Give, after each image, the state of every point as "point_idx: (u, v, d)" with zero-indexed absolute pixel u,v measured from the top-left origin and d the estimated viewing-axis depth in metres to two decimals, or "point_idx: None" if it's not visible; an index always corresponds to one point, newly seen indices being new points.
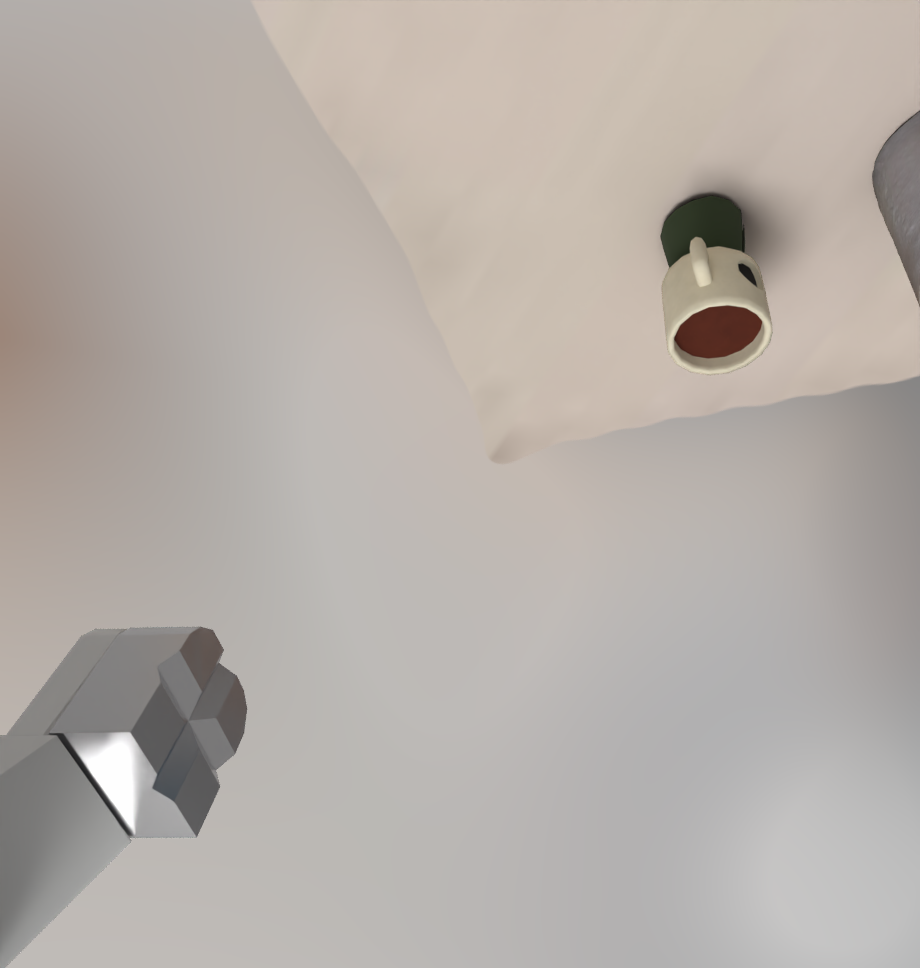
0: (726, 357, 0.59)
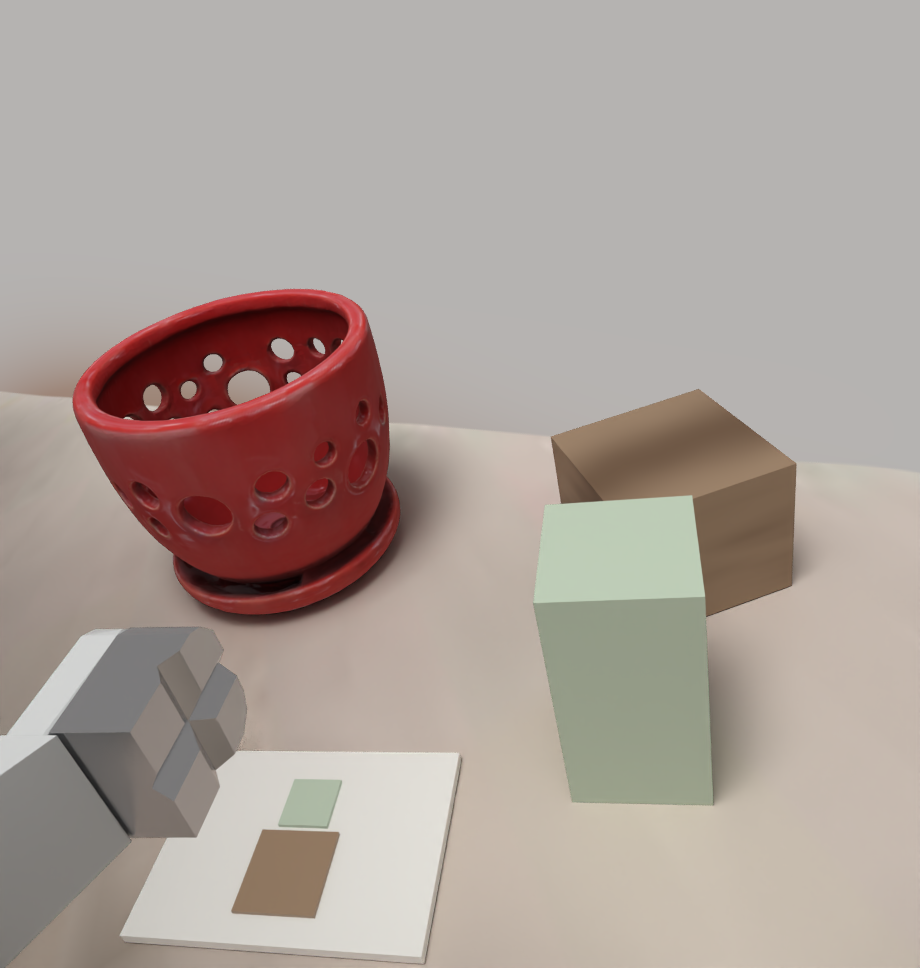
0: None
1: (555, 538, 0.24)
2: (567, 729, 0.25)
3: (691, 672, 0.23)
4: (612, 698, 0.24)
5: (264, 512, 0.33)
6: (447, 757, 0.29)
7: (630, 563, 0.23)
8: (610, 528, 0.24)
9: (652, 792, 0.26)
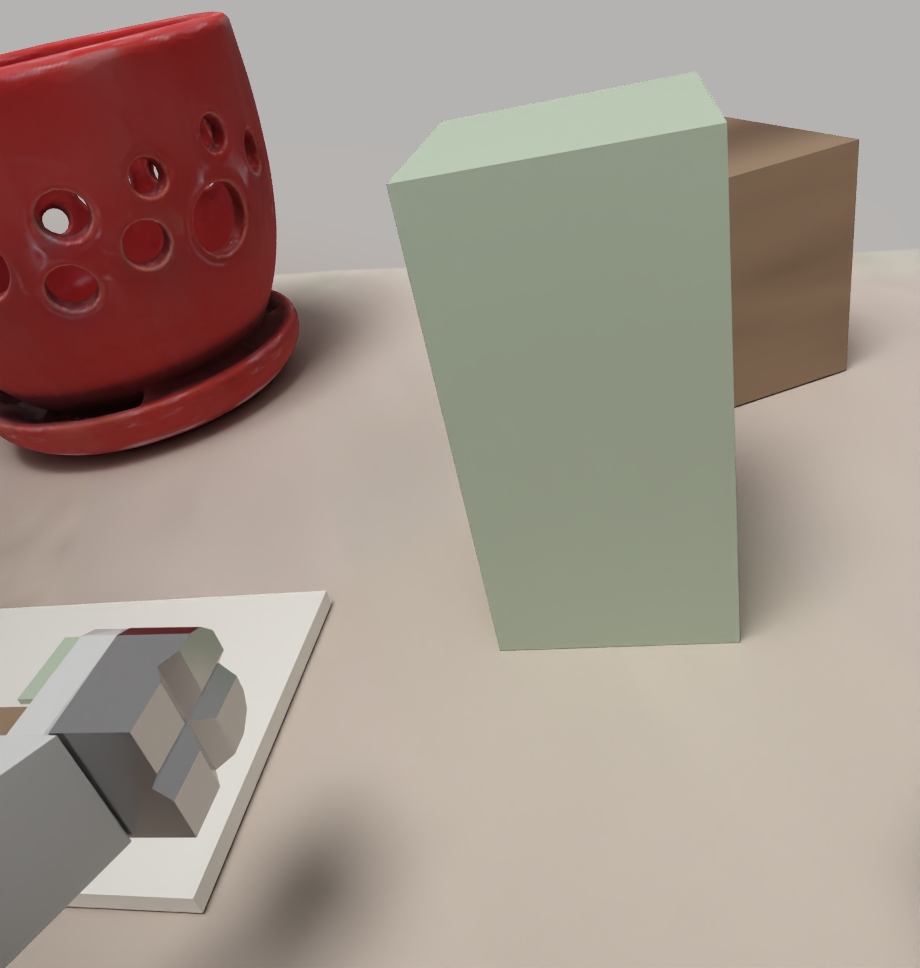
0: None
1: (449, 136, 0.13)
2: (479, 494, 0.14)
3: (699, 336, 0.12)
4: (553, 415, 0.13)
5: (56, 263, 0.22)
6: (306, 597, 0.18)
7: (580, 127, 0.12)
8: (549, 113, 0.13)
9: (634, 621, 0.15)
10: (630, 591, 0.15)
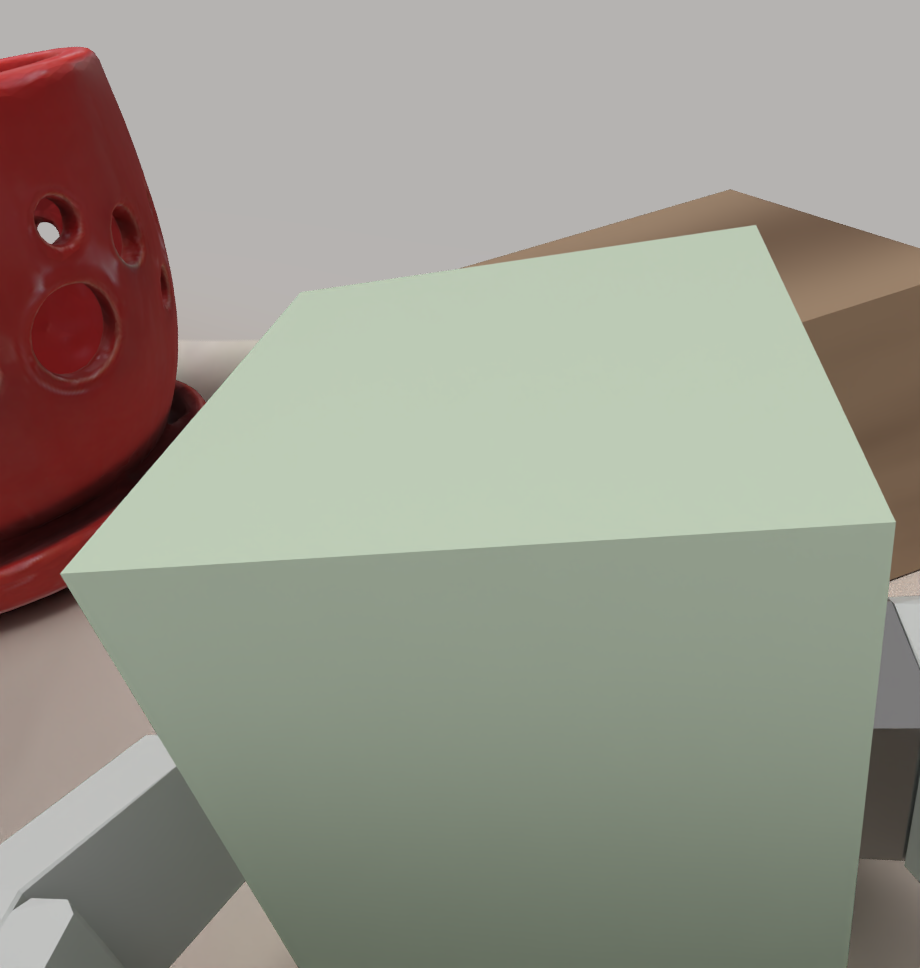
0: None
1: (281, 360, 0.07)
2: None
3: (782, 871, 0.05)
4: (476, 936, 0.06)
5: None
6: None
7: (522, 408, 0.05)
8: (473, 320, 0.07)
9: None
10: None
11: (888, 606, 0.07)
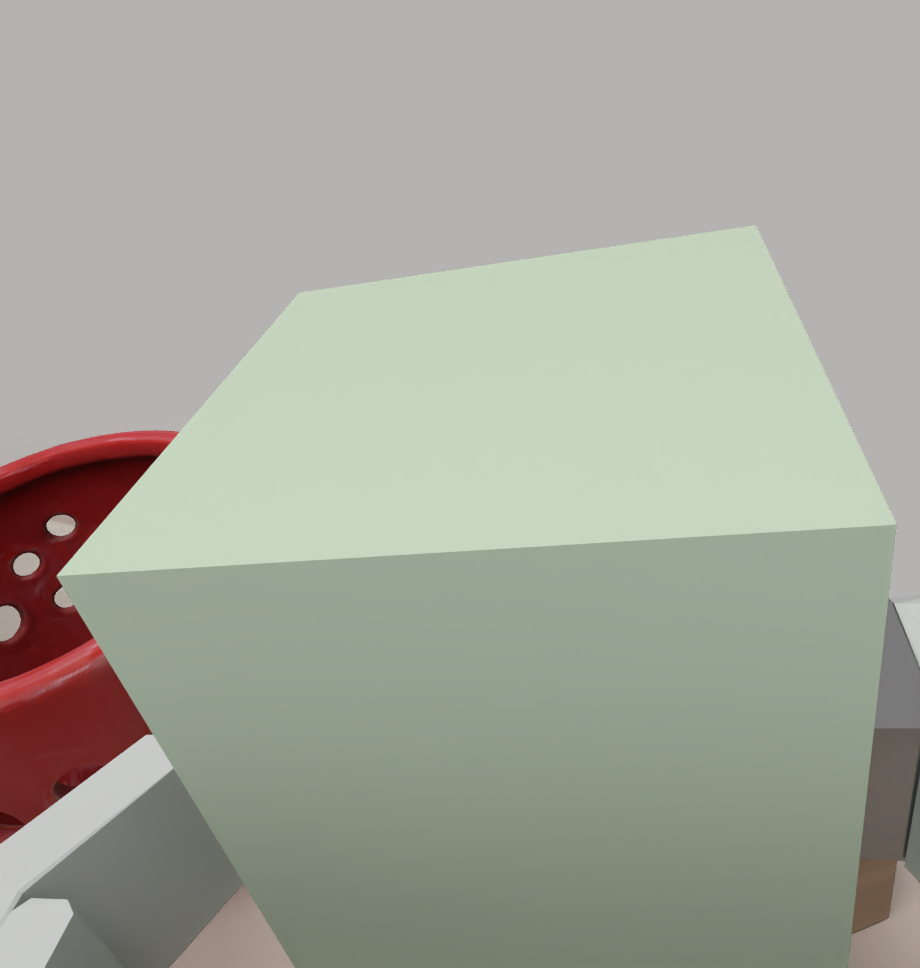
0: None
1: (280, 360, 0.07)
2: None
3: (784, 875, 0.05)
4: (476, 938, 0.06)
5: None
6: None
7: (520, 409, 0.05)
8: (472, 321, 0.07)
9: None
10: None
11: (888, 606, 0.07)
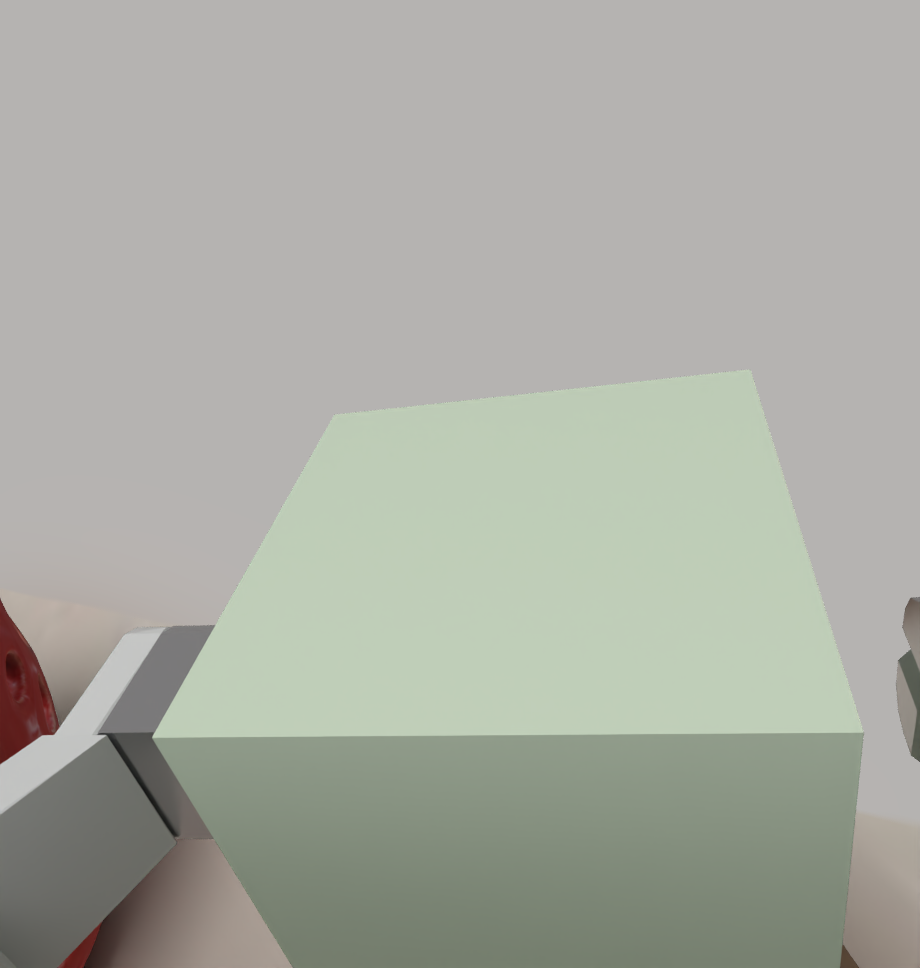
0: None
1: (324, 499, 0.08)
2: None
3: None
4: None
5: None
6: None
7: (545, 577, 0.06)
8: (497, 466, 0.08)
9: None
10: None
11: None
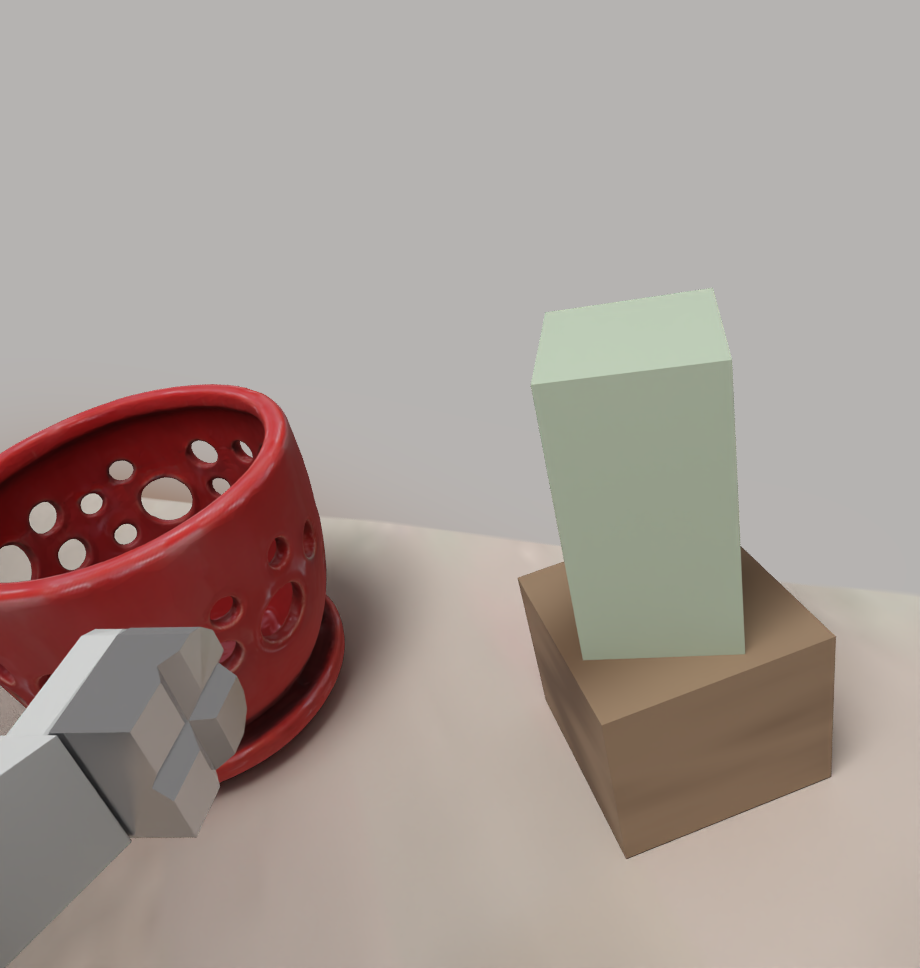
0: None
1: (556, 334, 0.21)
2: (575, 559, 0.22)
3: (716, 470, 0.19)
4: (626, 513, 0.20)
5: None
6: None
7: (643, 344, 0.19)
8: (620, 321, 0.21)
9: (674, 640, 0.23)
10: (672, 621, 0.22)
11: None
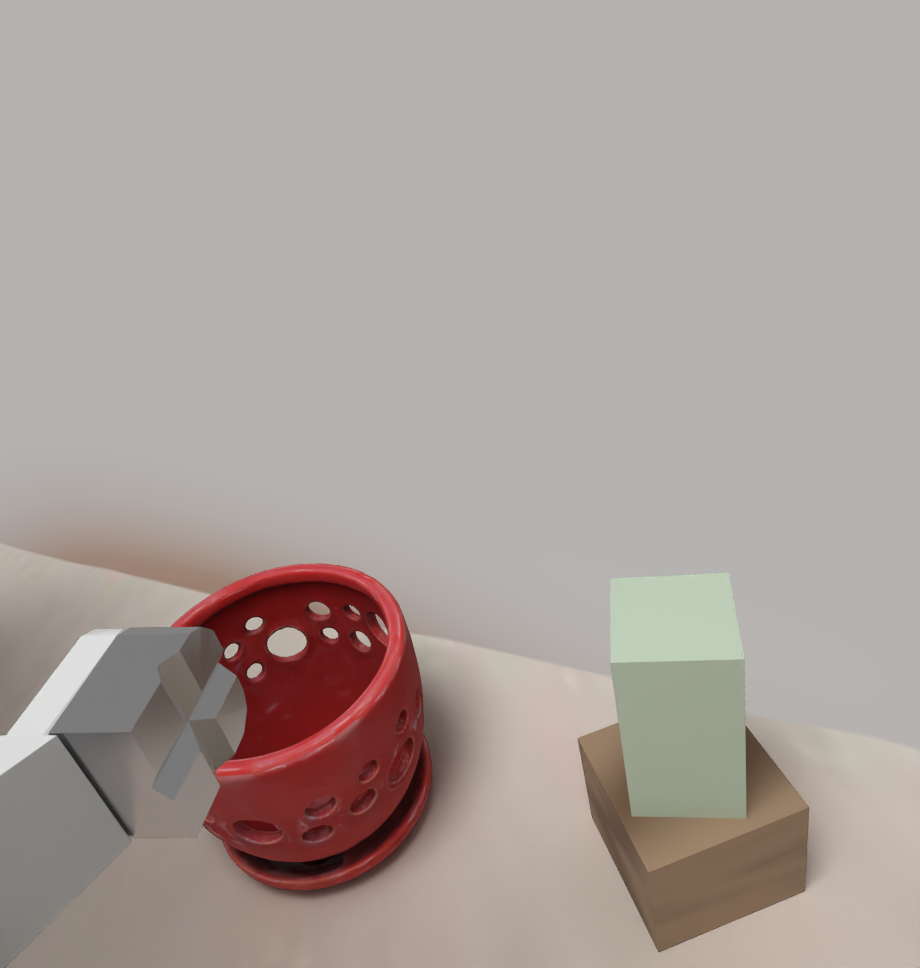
0: None
1: (621, 608, 0.31)
2: (631, 758, 0.31)
3: (731, 715, 0.29)
4: (668, 734, 0.30)
5: (312, 827, 0.35)
6: None
7: (684, 630, 0.29)
8: (665, 600, 0.31)
9: (697, 808, 0.32)
10: (696, 796, 0.32)
11: None
